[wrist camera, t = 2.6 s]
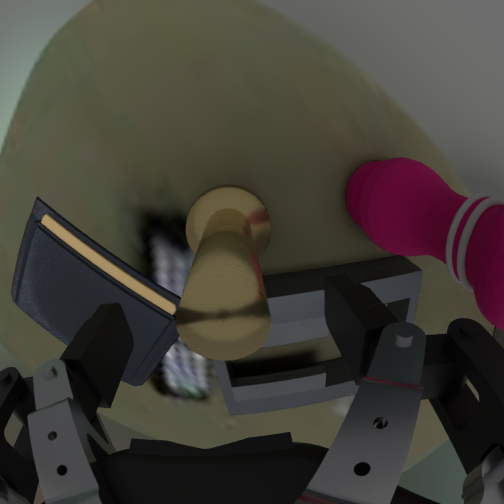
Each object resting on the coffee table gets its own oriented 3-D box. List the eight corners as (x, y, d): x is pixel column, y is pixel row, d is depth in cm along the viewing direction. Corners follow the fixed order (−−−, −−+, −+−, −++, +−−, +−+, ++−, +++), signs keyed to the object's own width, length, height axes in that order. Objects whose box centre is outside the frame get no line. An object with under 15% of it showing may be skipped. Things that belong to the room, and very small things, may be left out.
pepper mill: (342, 150, 21) (595, 199, 2) (412, 160, 21) (615, 221, 3) (335, 234, 23) (506, 416, 5) (403, 236, 24) (567, 361, 5)
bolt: (263, 179, 21) (309, 225, 9) (272, 255, 24) (312, 373, 11) (183, 191, 21) (113, 253, 8) (197, 265, 24) (164, 389, 11)
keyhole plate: (401, 254, 24) (422, 270, 21) (385, 360, 29) (397, 380, 26) (203, 284, 24) (198, 307, 21) (229, 390, 29) (229, 415, 26)
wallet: (4, 302, 22) (31, 192, 19) (12, 295, 24) (42, 189, 21) (135, 398, 28) (202, 319, 24) (138, 387, 29) (203, 308, 26)
